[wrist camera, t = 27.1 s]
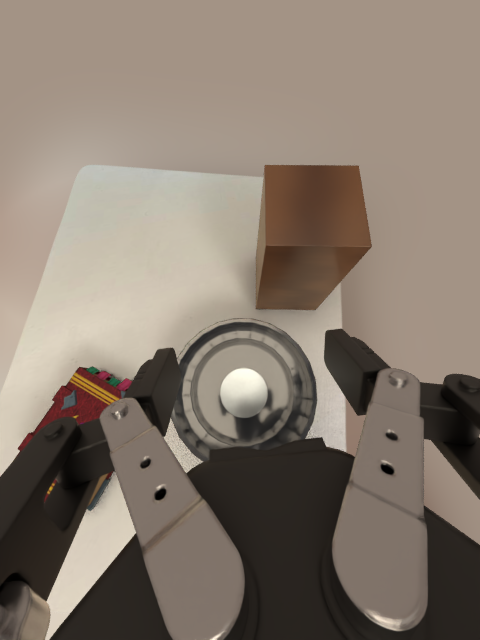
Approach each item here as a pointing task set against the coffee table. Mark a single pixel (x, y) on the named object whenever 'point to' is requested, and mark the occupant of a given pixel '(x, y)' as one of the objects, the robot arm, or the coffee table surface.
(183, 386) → the silver metal bowl
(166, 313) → the coffee table surface
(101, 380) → the decorative book
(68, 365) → the coffee table surface
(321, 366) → the coffee table surface
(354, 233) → the crate
